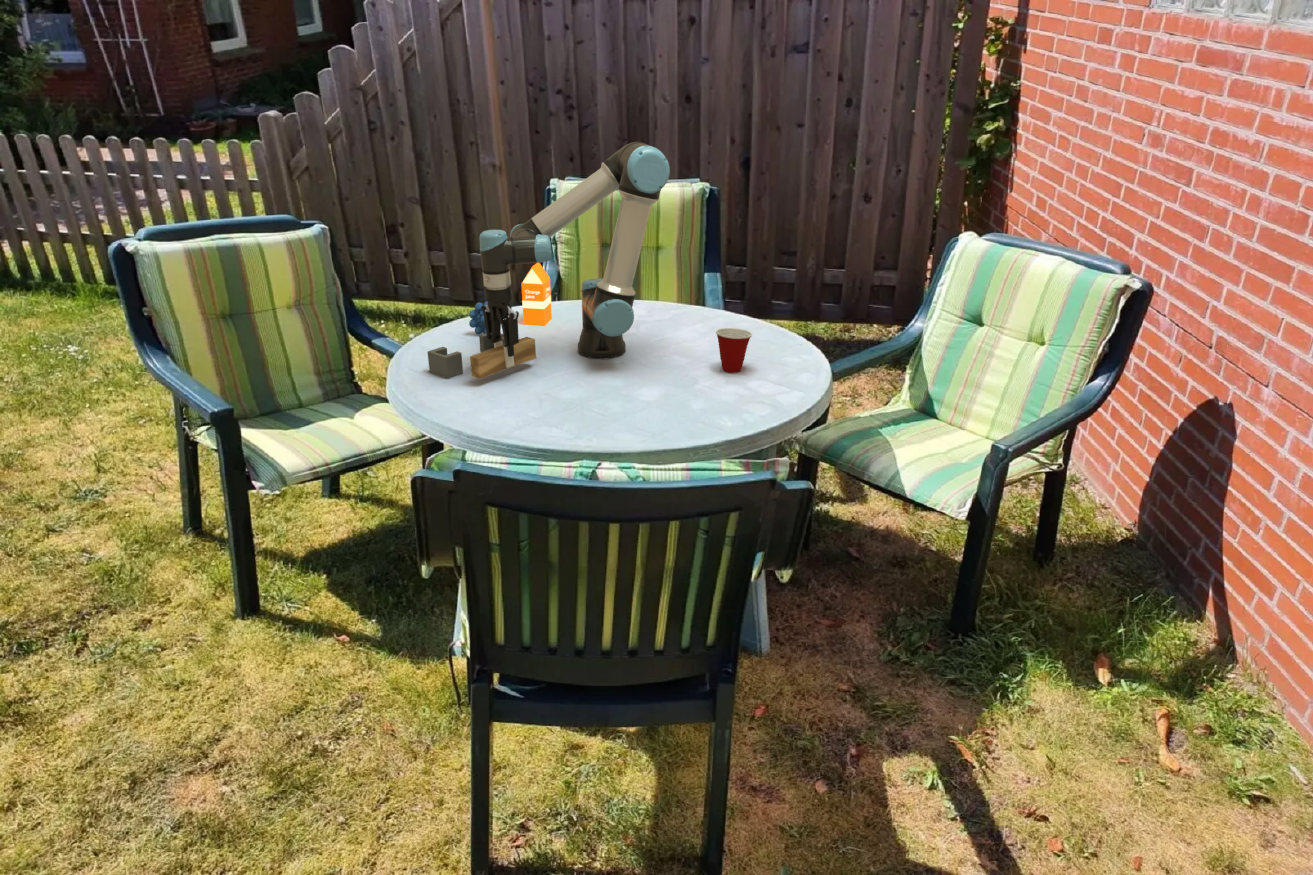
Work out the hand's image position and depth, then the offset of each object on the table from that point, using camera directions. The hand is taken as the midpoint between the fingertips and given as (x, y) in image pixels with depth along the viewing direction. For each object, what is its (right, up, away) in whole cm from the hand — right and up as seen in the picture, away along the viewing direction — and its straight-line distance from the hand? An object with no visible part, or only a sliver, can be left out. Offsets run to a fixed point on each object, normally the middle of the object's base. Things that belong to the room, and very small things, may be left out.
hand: (505, 364), depth 262 cm
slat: (0, -1, 0) cm, 1 cm away
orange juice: (+3, +19, +49) cm, 52 cm away
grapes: (-12, +13, +35) cm, 39 cm away
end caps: (-12, +1, +9) cm, 15 cm away
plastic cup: (+67, -1, +7) cm, 67 cm away
